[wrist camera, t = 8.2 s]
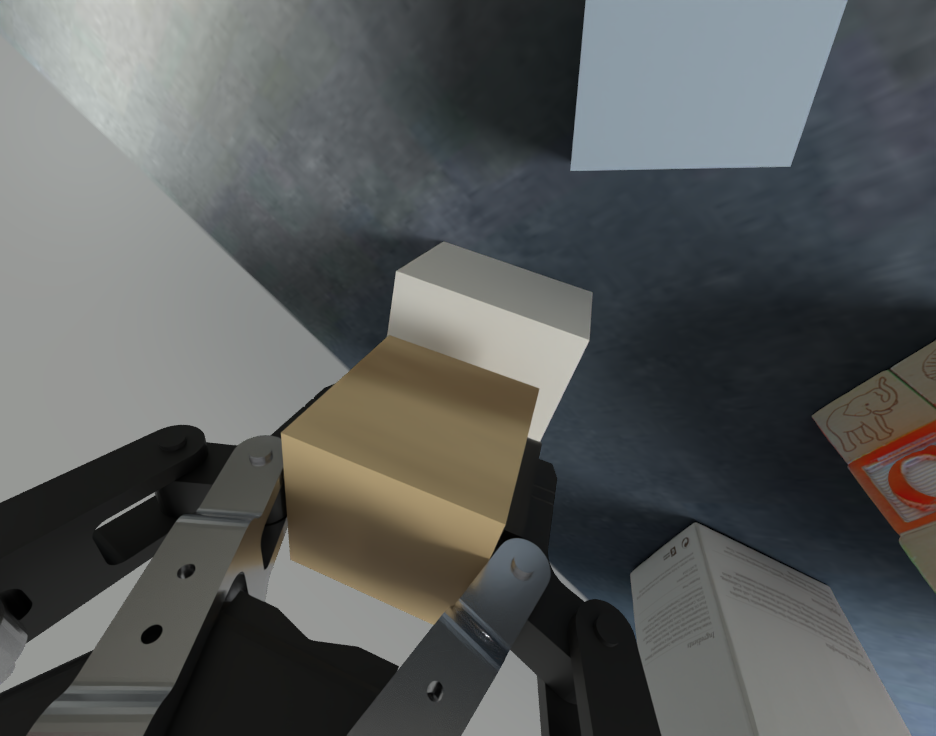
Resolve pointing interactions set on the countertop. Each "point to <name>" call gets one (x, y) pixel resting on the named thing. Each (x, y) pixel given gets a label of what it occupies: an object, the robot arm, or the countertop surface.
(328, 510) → the maple cube
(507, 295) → the base block
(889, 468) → the stack of blocks
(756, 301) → the countertop surface
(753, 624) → the skincare box
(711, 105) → the slate cube
